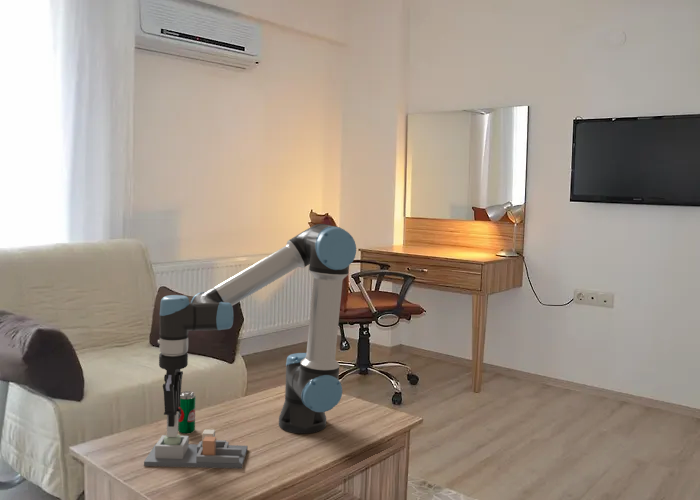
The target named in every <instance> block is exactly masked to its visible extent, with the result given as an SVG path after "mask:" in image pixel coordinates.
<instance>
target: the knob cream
mask: <svg viewBox="0 0 700 500" xmlns="http://www.w3.org/2000/svg"><path fill="white" fill-rule="evenodd" d="M201 434H202V435H201V436H202V440H201V441H202V447H203V440H204V438H205V437H216V429H205V428H204V430H203V432H202V433H201Z"/></svg>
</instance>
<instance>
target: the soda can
mask: <svg viewBox="0 0 700 500" xmlns="http://www.w3.org/2000/svg"><path fill="white" fill-rule="evenodd" d="M196 401H197V399H196V395H195V391H191V390H187V391H186V390H185V391H181V399H180V407H179V409H181V412H178V433H180V434H182V435H189V434H192V433H194V432H195V430H196Z"/></svg>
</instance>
